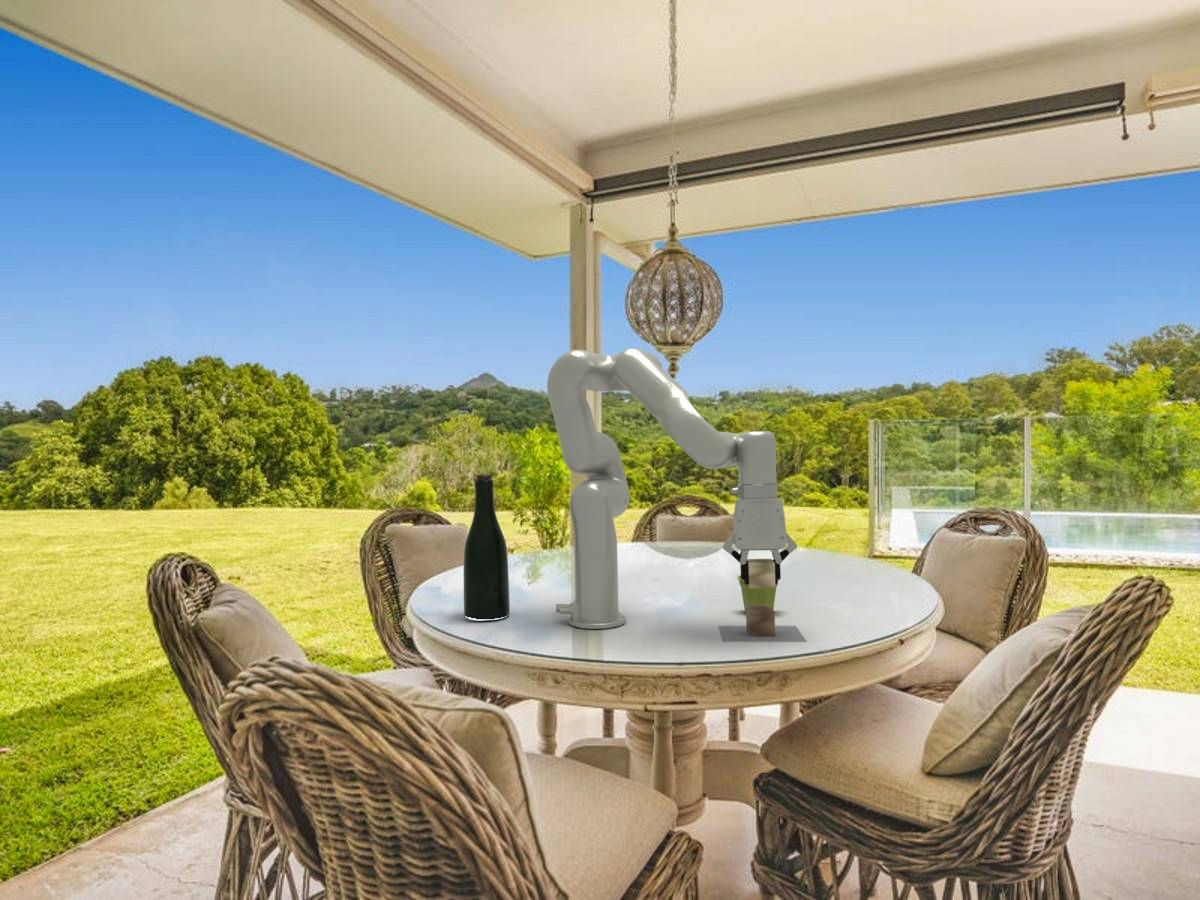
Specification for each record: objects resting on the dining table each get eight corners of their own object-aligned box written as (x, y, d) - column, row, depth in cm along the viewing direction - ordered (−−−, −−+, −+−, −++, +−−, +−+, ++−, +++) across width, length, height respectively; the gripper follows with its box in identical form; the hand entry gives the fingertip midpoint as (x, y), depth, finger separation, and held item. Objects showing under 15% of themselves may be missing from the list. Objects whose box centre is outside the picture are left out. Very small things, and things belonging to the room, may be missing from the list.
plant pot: (781, 620, 157) (780, 581, 157) (737, 619, 159) (736, 580, 159) (779, 611, 166) (778, 573, 166) (738, 610, 168) (737, 572, 168)
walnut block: (749, 636, 142) (748, 611, 142) (746, 630, 147) (746, 605, 147) (775, 636, 142) (774, 611, 142) (771, 630, 147) (770, 605, 147)
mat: (722, 644, 139) (722, 641, 139) (718, 628, 151) (718, 625, 151) (807, 644, 138) (807, 641, 138) (795, 628, 150) (795, 625, 150)
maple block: (749, 588, 142) (748, 563, 142) (746, 583, 147) (746, 559, 147) (775, 587, 142) (774, 562, 142) (771, 583, 147) (770, 558, 147)
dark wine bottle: (472, 611, 172) (469, 473, 172) (515, 612, 170) (512, 473, 170) (457, 622, 162) (454, 475, 162) (502, 623, 160) (499, 474, 160)
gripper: (716, 495, 142) (719, 587, 142) (804, 492, 140) (807, 586, 140) (713, 492, 149) (716, 580, 149) (797, 490, 147) (800, 579, 147)
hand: (760, 582), depth 145 cm, fingers closed on maple block, 5 cm apart
